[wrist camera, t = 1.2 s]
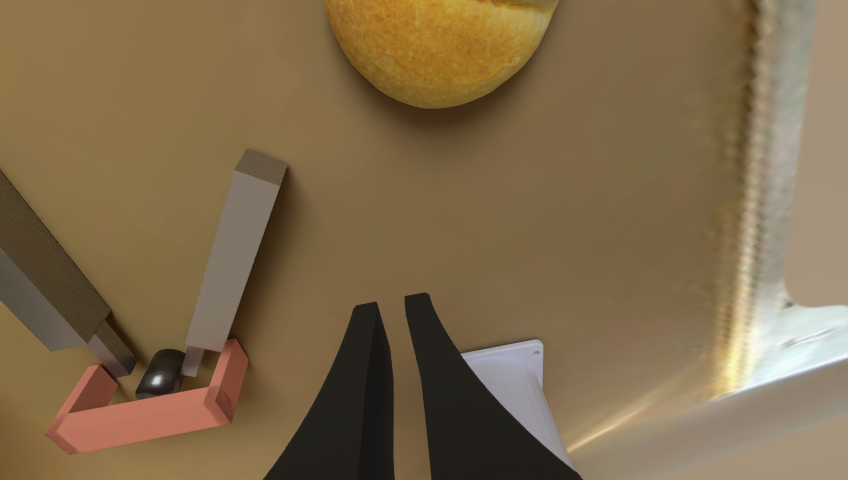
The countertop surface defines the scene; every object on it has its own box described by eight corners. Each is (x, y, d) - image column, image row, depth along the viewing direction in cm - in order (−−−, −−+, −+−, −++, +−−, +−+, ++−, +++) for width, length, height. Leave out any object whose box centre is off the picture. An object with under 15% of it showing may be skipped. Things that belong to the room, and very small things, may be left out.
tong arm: (219, 359, 25) (208, 390, 24) (187, 352, 25) (173, 384, 23) (287, 163, 19) (280, 186, 17) (247, 148, 19) (234, 170, 17)
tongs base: (196, 368, 26) (182, 402, 24) (132, 380, 26) (113, 415, 24) (13, 111, 17) (-34, 132, 15) (-85, 129, 17) (-145, 152, 15)
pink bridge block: (248, 360, 26) (231, 423, 22) (108, 387, 26) (69, 455, 22) (235, 338, 25) (214, 401, 21) (88, 366, 25) (43, 434, 21)
